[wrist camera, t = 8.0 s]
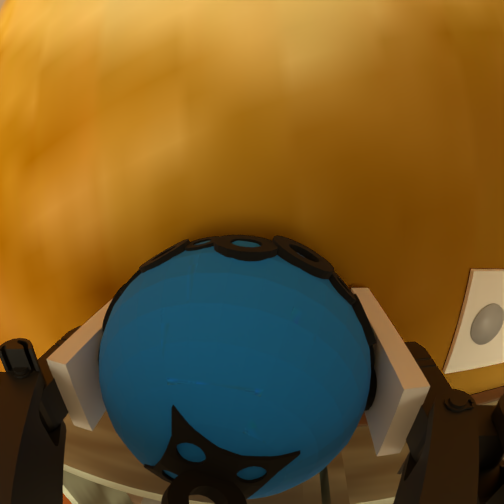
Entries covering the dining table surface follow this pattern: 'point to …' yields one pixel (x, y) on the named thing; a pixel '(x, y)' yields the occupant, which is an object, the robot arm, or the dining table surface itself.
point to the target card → (479, 323)
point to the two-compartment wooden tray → (292, 500)
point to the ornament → (236, 366)
